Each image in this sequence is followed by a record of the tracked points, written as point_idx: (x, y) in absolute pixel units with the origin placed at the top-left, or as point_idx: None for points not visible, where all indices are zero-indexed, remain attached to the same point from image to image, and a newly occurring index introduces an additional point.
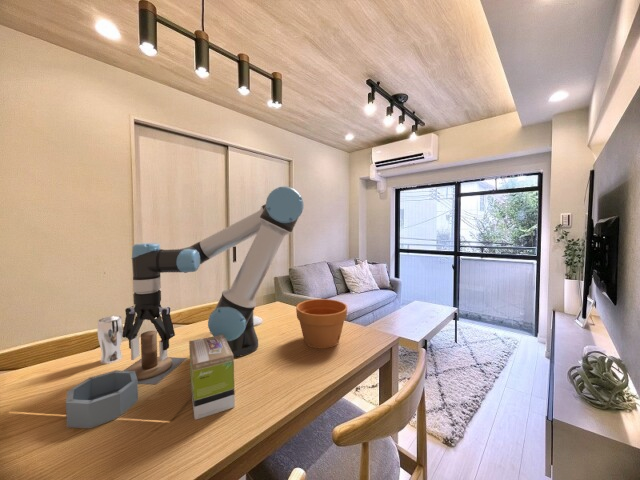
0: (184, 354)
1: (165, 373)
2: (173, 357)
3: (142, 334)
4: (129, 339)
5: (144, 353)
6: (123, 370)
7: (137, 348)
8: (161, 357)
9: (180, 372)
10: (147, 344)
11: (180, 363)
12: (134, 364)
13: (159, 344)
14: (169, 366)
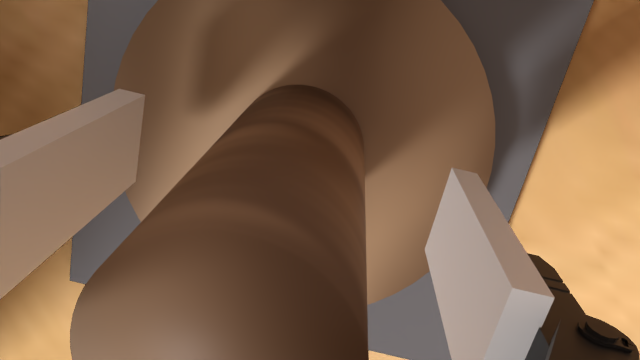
0: None
1: (119, 37)
2: None
3: (325, 332)
4: (584, 319)
5: (292, 127)
6: (532, 153)
7: (448, 275)
8: (103, 96)
9: (12, 57)
10: (220, 166)
11: None
12: None
13: (33, 152)
14: None
